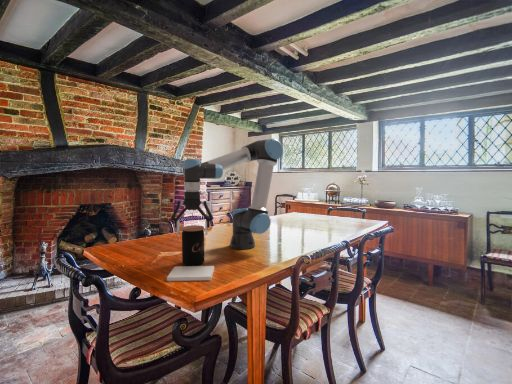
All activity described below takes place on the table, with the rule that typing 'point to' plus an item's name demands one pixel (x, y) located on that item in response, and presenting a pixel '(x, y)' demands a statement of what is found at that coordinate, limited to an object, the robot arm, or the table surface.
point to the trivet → (191, 273)
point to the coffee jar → (193, 245)
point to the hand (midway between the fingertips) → (192, 234)
